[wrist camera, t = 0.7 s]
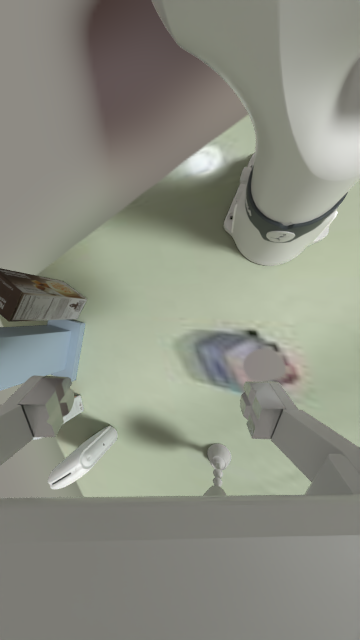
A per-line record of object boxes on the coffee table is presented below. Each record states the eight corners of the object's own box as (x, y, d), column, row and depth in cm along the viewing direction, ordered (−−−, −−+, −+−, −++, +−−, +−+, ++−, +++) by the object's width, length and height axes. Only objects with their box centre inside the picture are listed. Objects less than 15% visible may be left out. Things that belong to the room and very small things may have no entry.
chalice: (201, 466, 42) (183, 574, 24) (202, 436, 42) (184, 523, 24) (236, 474, 40) (243, 596, 23) (237, 443, 40) (245, 541, 22)
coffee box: (52, 301, 51) (-25, 295, 35) (63, 280, 50) (-12, 264, 34) (77, 320, 49) (7, 322, 33) (88, 298, 48) (22, 290, 32)
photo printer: (112, 421, 47) (73, 457, 35) (121, 437, 47) (84, 479, 35) (83, 440, 49) (37, 480, 37) (92, 455, 49) (48, 500, 37)
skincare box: (81, 394, 49) (35, 418, 38) (84, 410, 49) (40, 439, 37) (62, 397, 51) (13, 421, 39) (65, 413, 50) (17, 442, 39)
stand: (54, 315, 51) (-118, 314, 25) (85, 323, 48) (-70, 331, 23) (45, 369, 52) (-128, 419, 27) (75, 379, 49) (-83, 446, 24)
